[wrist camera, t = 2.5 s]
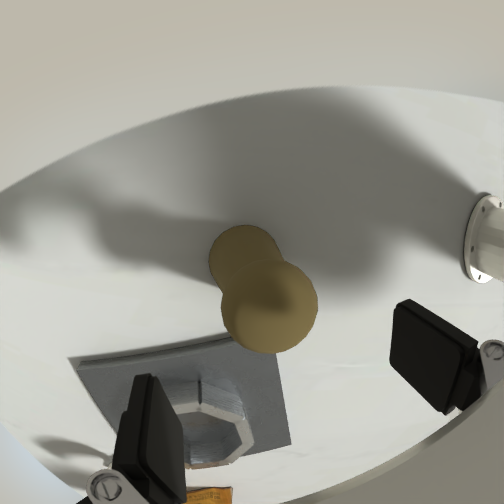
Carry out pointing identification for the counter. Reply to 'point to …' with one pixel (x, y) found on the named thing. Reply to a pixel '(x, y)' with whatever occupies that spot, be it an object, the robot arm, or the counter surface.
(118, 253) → the counter surface
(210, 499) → the pancake mix bag
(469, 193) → the counter surface
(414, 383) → the robot arm
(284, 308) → the cork
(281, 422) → the plate
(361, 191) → the counter surface
